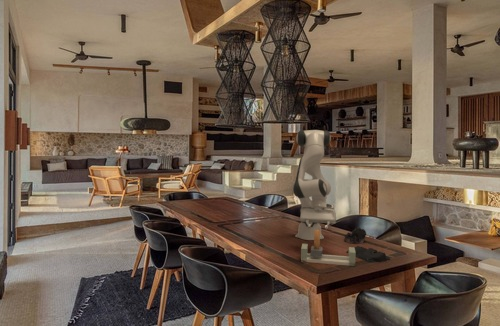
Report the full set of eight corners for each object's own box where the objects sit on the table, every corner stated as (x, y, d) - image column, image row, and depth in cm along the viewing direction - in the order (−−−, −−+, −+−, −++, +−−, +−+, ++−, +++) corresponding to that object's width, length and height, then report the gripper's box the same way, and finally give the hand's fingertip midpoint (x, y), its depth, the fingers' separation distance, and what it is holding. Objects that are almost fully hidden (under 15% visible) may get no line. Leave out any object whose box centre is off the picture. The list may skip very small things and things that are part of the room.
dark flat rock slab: (363, 250, 226) (364, 242, 226) (392, 260, 206) (392, 252, 206) (343, 252, 219) (344, 244, 219) (371, 264, 199) (371, 255, 199)
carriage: (311, 251, 208) (311, 228, 207) (322, 252, 207) (323, 228, 206) (310, 255, 200) (311, 231, 199) (322, 256, 199) (322, 232, 198)
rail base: (302, 256, 210) (302, 243, 210) (353, 260, 204) (354, 247, 204) (300, 261, 200) (301, 248, 200) (355, 266, 194) (355, 252, 194)
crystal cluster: (339, 242, 244) (340, 227, 242) (349, 236, 254) (350, 222, 252) (359, 248, 235) (360, 232, 233) (368, 242, 245) (369, 227, 244)
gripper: (300, 203, 219) (298, 224, 210) (336, 205, 215) (336, 226, 206) (300, 209, 224) (299, 230, 215) (336, 211, 220) (335, 232, 211)
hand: (317, 228), depth 211 cm, fingers open, 8 cm apart
